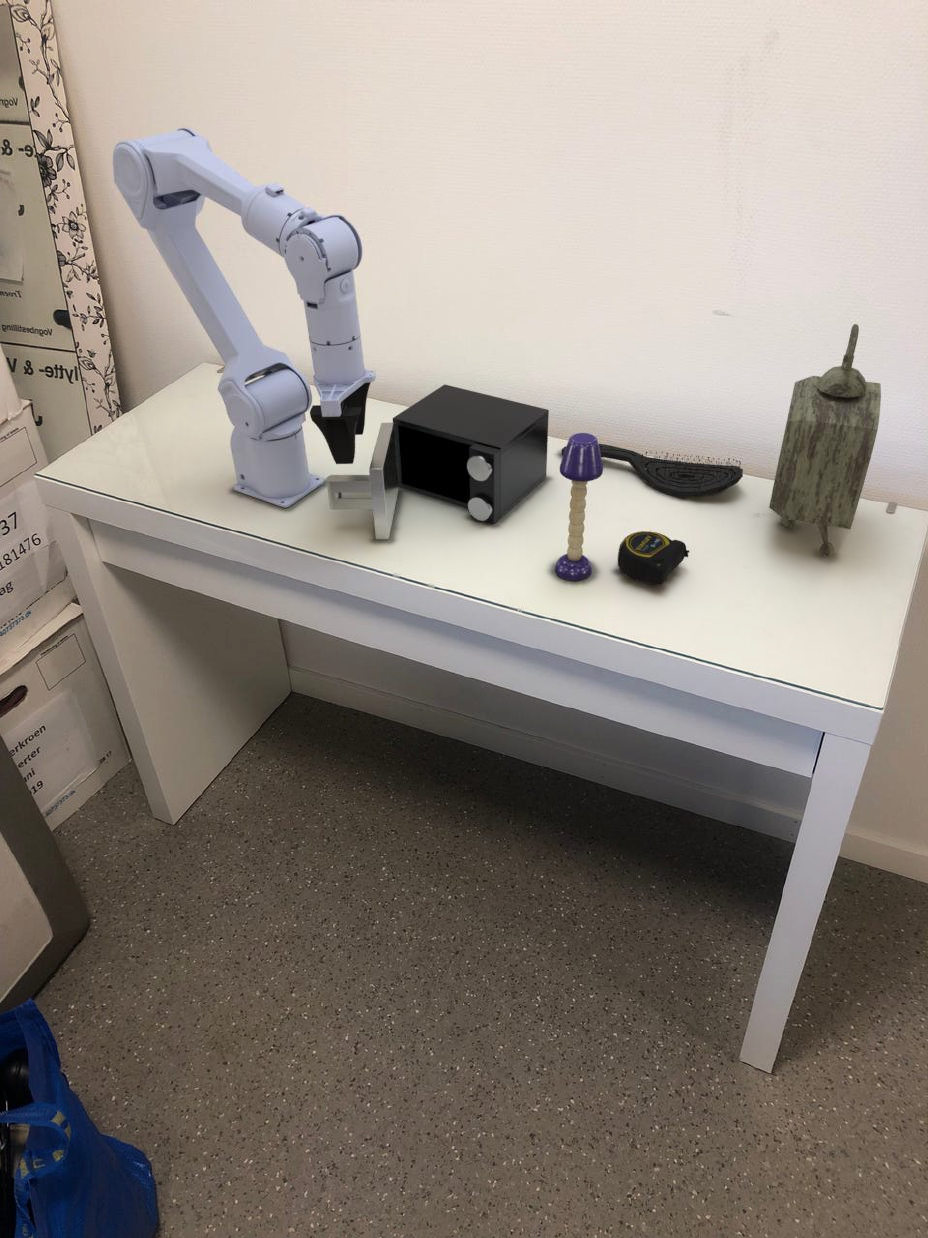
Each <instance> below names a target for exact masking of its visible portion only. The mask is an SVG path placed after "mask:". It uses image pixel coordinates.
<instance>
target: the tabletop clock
mask: <svg viewBox="0 0 928 1238" xmlns="http://www.w3.org/2000/svg"><path fill="white" fill-rule="evenodd" d="M859 331H860V327H859V325H858V323H854V324H853V325H852V326H851V329H850V335H849V338H848V343H847V348H846V350H845V354H844V355H843V358H842V362H841V365H839V366H833V367H831V368H829V369H828V370H827V371H825V372H824V374H822V376H820V375H811V376H808V377H806V378H803V379H800V380H797V381H795V382H794V384H793V388H792V394H791V399H790V404H789V408H788V414H787V419H786V424H785V429H784V432H783V438H782V442H781V447H780V453H779V455H778V461H777V467H776V471H775V476H774V482H773V487H772V491H771V496H770V500H769V505H768V508H769V509H770V510H771V511H773V512H774V513H775V514H777V515H778V516H779V517H780V518H781V524H782V525H783V526H784V527H785V528H792V527H794V526H795V524H796V522H801V523H809V524H815V525H816V526H817V528H818V530H819V534H820V536H821V537H820V538H821V541H822V544H821V545H820V546H819V552H820V554H821V555H822V556H823V557H830V556H832V555H833V554H834V553H835V546H834V544H832V543H831V542H829V536H828V528H827V527H833V528H838V529H839V528H840V529H846V530H851V528H852V525H853V522H854V519H855V515H856V512H857V509H858V505H859V502H860V499H861V495H862V492H863V489H864V485H865V480H866V476H867V473H868V470H869V466H870V462H871V459H872V454H873V450H874V447H875V442H876V439H877V434H878V429H879V422H880V415H881V401H882V387H881V382H872V381H866V379H865V377H864V376H863V374H862V373H861V372H860V370H859V369H857V368H855V367H853V363H854V359H855V351H856V347H857V342H858V338H859Z"/></svg>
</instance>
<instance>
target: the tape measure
mask: <svg viewBox="0 0 928 1238" xmlns="http://www.w3.org/2000/svg"><path fill="white" fill-rule="evenodd" d="M689 553H690V549H689V550H688V549H687V546H686V543H685V542H684V541H682V540H678V539H671V538H670V537H668V536H666V535H665V534H662V533H659V532H656V531H651V530H649V531H648V530H644V531H643V530H642V531H640V530H639V531H636V532H633V533H630V534H628V535H627V536H625V537H624V538H623V540H622V541H621V542H620V544H619V547H618V553H617V566H618V568H619V571H620V572H621V573H622V574H623V575H624V576H626V577H627V578H628V579H630V580H632V581H635V582H641V583H646V584H648V585H651V586H662V585H663V584H664V583H665V582H666V581H667V579H668V578H669V575H670V574H672V572H674V571H675V570H676V569H677V568H678V567H679V565H680V564H681V563H682V562H683V561H684V559H685V558H688V557H689Z"/></svg>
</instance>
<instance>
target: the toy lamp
mask: <svg viewBox="0 0 928 1238" xmlns="http://www.w3.org/2000/svg"><path fill="white" fill-rule="evenodd" d="M598 443H599V441H598V438H597V436H596V435H593V434H591V433H587V432H577V433H574V434H572V435H571V436H569V439H568V441H567V443H566V445H565V446H566V449H565V452H564V455H562V457H561V461H560V463H559V473H560V475H561V476H562V477H564V478H565V479H566V480H569V481H571V484H572V486H571V488H570V496H571V498H570V502H569V508H570V510H569V513H568V520H569V523H568V528H567V529H568V538H567V545H568V547H567V550H566V553H565V554H563V555H562V556H560V557H559V558H558V560H557V561H556V563H555V566H554V572H555V574H556V575H557V576H558V577H560V578H562V579H564V580H568V581H580V580H584V579H586V578H588V577H590V575H591V574H592V572H593V569H592V564H591V561H590V560H589V558H587V557H586V556H585V555H584V554H583V553H584V552H583V551H584V549H583V545H584V535H583V534H584V532H585V523H584V521H585V519H586V512H585V509H586V506H587V499H586V497H587V494H588V488H587V485H588V483H589V482H592V481H596V480H597V479H599V478H601V477H602V475H603V472H604V464H603V460H602V458H601V454H600V449H599V444H600V443H599V444H598Z"/></svg>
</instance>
